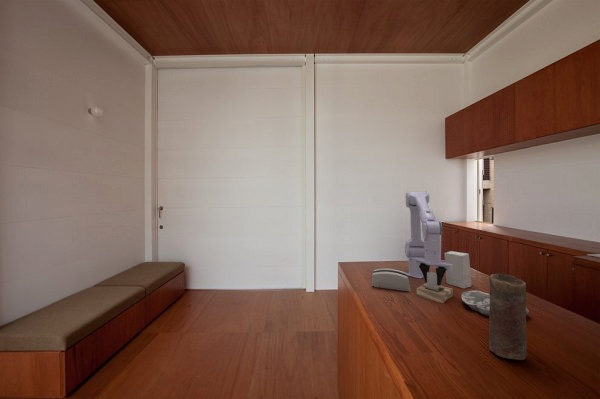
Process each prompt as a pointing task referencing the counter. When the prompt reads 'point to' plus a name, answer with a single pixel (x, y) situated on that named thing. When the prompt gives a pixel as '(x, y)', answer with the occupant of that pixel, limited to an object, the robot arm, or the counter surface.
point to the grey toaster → (391, 279)
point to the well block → (435, 293)
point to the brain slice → (479, 301)
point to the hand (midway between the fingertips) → (433, 283)
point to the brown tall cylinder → (507, 317)
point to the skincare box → (458, 269)
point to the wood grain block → (432, 281)
